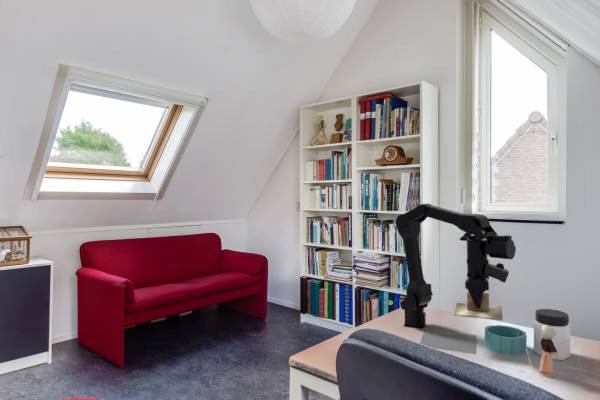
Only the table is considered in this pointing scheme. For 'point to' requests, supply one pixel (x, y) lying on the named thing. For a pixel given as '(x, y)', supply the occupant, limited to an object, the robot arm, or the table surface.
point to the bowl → (505, 339)
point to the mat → (449, 341)
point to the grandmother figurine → (547, 351)
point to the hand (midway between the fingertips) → (478, 306)
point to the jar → (560, 326)
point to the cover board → (477, 314)
